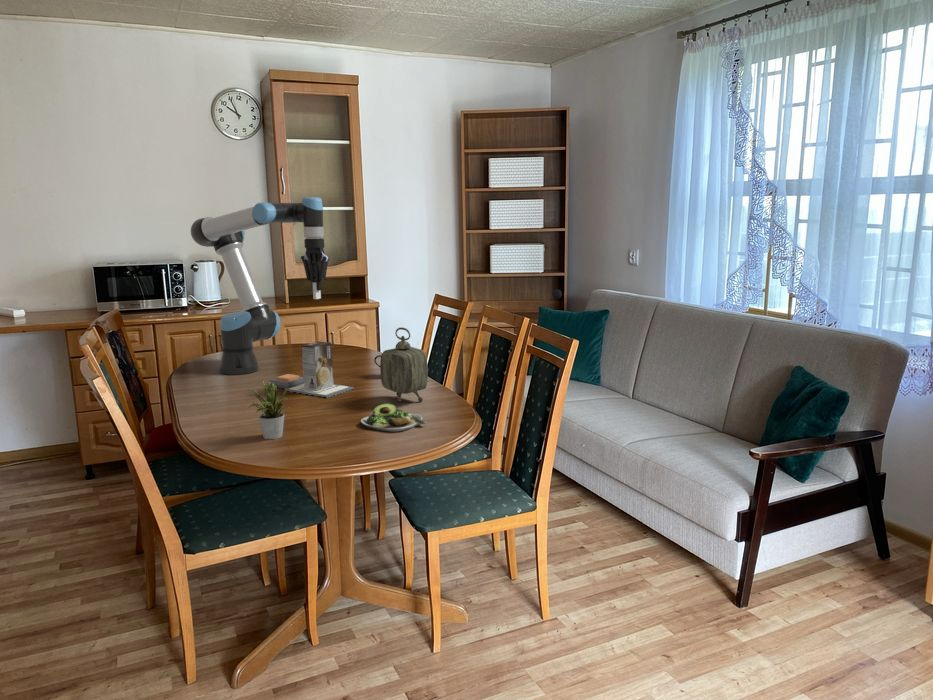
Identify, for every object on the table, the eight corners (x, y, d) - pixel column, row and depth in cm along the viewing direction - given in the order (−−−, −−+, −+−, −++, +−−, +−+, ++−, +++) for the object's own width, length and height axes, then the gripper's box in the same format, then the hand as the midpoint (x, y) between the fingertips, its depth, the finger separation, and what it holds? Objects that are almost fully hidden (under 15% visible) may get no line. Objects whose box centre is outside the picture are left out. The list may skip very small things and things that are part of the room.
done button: (277, 381, 252) (276, 377, 252) (288, 378, 257) (287, 373, 257) (288, 383, 250) (288, 378, 249) (299, 379, 254) (298, 375, 254)
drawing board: (284, 391, 245) (284, 388, 245) (311, 382, 257) (311, 380, 257) (327, 398, 235) (327, 395, 235) (353, 389, 247) (353, 386, 247)
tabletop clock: (428, 401, 230) (427, 328, 225) (408, 407, 223) (407, 331, 218) (398, 394, 239) (396, 323, 235) (379, 399, 233) (376, 327, 228)
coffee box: (320, 383, 252) (318, 340, 249) (334, 385, 249) (332, 342, 246) (303, 389, 244) (300, 345, 241) (317, 391, 241) (314, 346, 238)
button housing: (270, 386, 252) (269, 379, 252) (288, 381, 260) (287, 374, 259) (288, 389, 247) (288, 382, 247) (306, 384, 255) (306, 377, 255)
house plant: (237, 433, 198) (233, 378, 194) (283, 425, 205) (280, 372, 202) (253, 447, 186) (249, 388, 183) (302, 437, 194) (299, 381, 191)
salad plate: (439, 421, 210) (439, 406, 209) (406, 437, 194) (406, 422, 193) (388, 412, 219) (387, 398, 218) (352, 427, 204) (352, 412, 203)
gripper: (333, 237, 265) (336, 298, 270) (308, 237, 272) (311, 296, 276) (320, 238, 259) (323, 300, 263) (294, 238, 265) (298, 298, 270)
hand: (317, 298), depth 270 cm, fingers closed
